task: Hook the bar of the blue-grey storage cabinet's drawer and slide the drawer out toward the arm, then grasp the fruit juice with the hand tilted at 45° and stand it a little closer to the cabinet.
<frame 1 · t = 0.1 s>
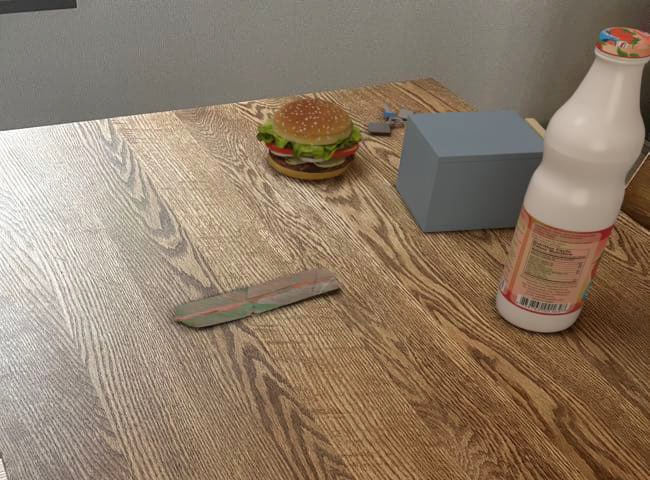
key chain: (394, 120, 128), on the table
food: (305, 163, 117), on the table
fruit juice: (534, 312, 94), on the table
map: (258, 301, 93), on the table
cabinet: (461, 206, 110), on the table
drawer: (514, 168, 107), point 5 cm above the table, slide at 1.5 cm
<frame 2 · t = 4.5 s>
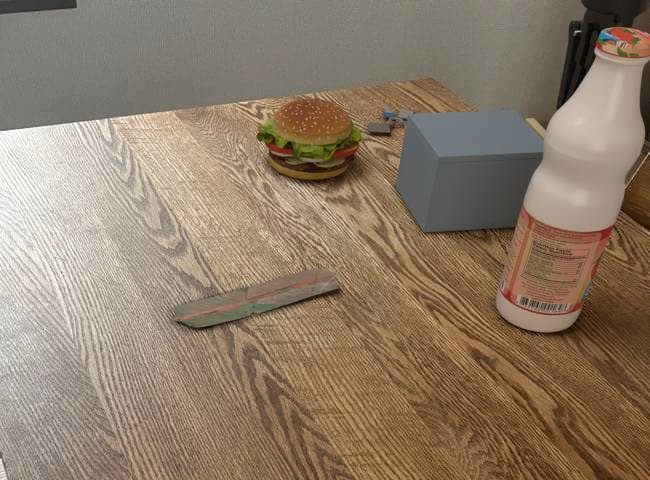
hand: (558, 177, 109), 3 cm above the table, tool pointing down, fingers closed
drawer: (514, 168, 107), point 5 cm above the table, slide at 1.5 cm, touching gripper
everything else where it was.
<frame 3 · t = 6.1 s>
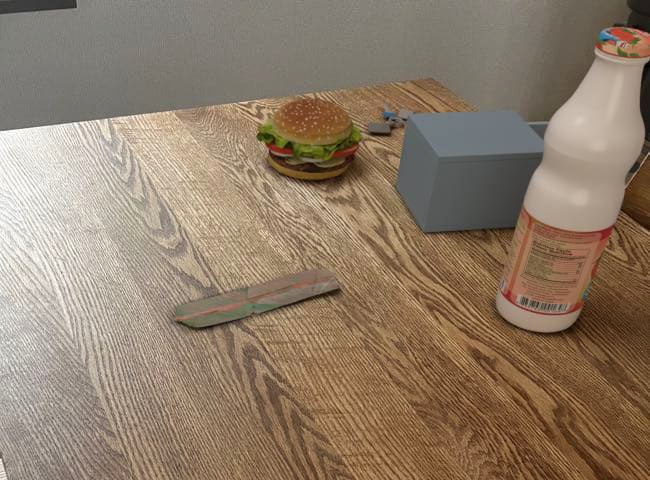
hand: (598, 178, 110), 3 cm above the table, tool pointing down, fingers closed
drawer: (556, 166, 108), point 5 cm above the table, slide at 7.4 cm
everything else where it was.
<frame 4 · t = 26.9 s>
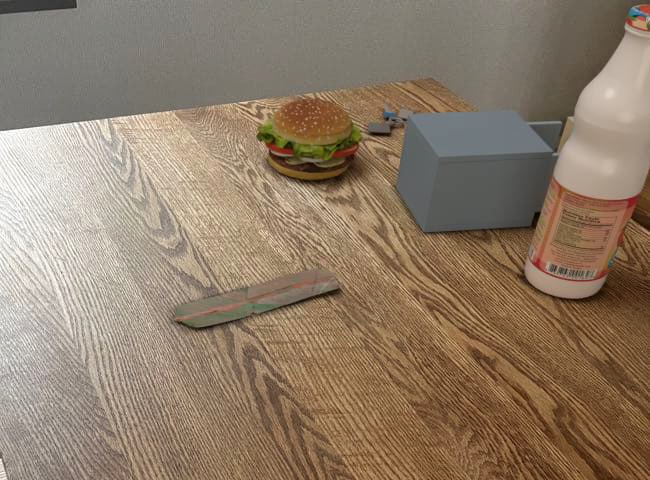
fruit juice: (561, 280, 98), on the table
everything else where it was.
at the end: drawer slide at 7.6 cm; fruit juice inside the target area (0.0 cm from its centre), on the table; fruit juice tilted 0° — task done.
